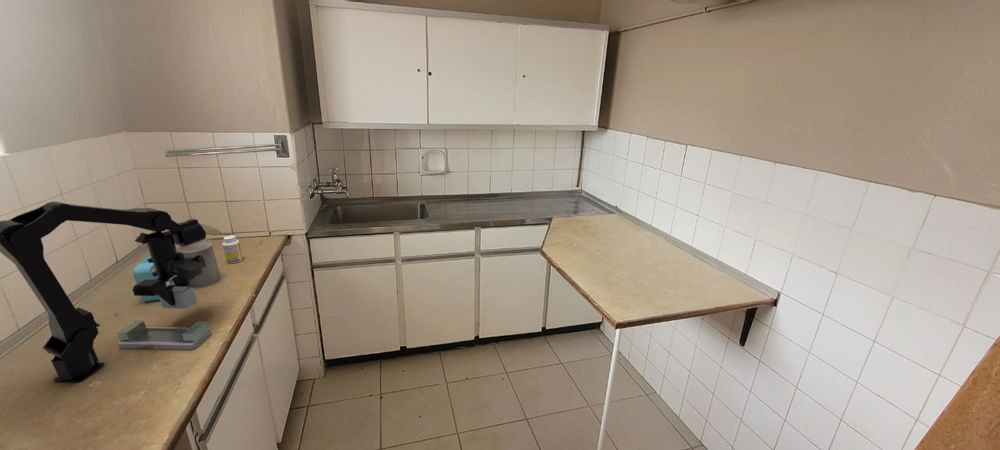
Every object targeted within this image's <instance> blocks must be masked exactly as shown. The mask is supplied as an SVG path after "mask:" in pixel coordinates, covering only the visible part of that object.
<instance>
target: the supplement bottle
mask: <svg viewBox="0 0 1000 450" xmlns="http://www.w3.org/2000/svg"><path fill="white" fill-rule="evenodd" d="M222 247H223V252H224V255H225V256H224V257H225V260H226V262H227V263H228V264H237V263H239V262H240V263H241V261H243V260H244V256H243V252H242V247H241V242H240V240H238V239H237V237H236V235H233V234H232V235H231V234H230V235H226V236H224V237H223V242H222Z"/></svg>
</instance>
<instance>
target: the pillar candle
mask: <svg viewBox="0 0 1000 450" xmlns="http://www.w3.org/2000/svg"><path fill="white" fill-rule="evenodd" d="M177 252H181V253H182V254H183V256H184V258H185V257H195V256H197V255H201V256H203V258H204V260H205V264H206V266H205V267H203V268H202V273H201V274H200V275H198V276H196V277H195V278H194V279H191V280H190V281H189V286H193V289H198V288H204V287H208V286H211V285H214V284H215V283H216V282H218V281H220V280H221V273H220V270H219V265H218V263H217V258H216V256H215V255H216V254H215V252H214V247H213V243H212V242H210V241H207V240H202V241H199V242H196V243H193V244H190V245H187V246H183V247H182V246H179V247H178V248H177Z"/></svg>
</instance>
